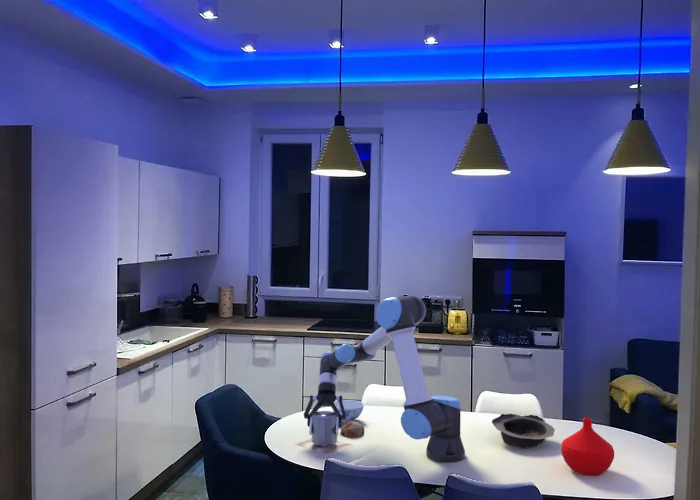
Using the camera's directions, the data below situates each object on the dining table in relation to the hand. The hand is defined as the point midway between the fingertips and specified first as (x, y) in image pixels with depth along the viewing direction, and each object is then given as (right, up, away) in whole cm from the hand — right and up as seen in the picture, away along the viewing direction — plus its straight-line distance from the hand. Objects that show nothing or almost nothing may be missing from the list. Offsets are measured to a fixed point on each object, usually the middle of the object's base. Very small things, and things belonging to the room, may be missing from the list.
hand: (323, 433), depth 252 cm
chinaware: (+10, -6, +39) cm, 41 cm away
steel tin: (0, -4, +3) cm, 5 cm away
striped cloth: (0, -6, +3) cm, 7 cm away
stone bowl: (+84, -6, +8) cm, 84 cm away
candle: (0, -5, +3) cm, 6 cm away
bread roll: (+12, -6, +17) cm, 22 cm away
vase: (+98, -7, -24) cm, 101 cm away
